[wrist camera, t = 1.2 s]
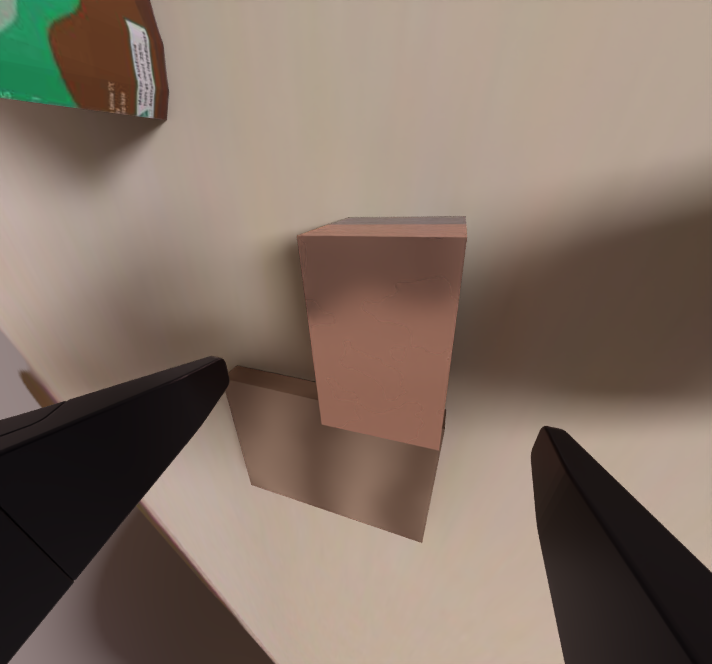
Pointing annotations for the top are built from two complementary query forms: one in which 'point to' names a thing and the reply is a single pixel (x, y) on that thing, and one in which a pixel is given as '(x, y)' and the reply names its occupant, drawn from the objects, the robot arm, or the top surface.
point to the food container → (84, 55)
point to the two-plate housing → (384, 321)
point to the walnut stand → (328, 456)
